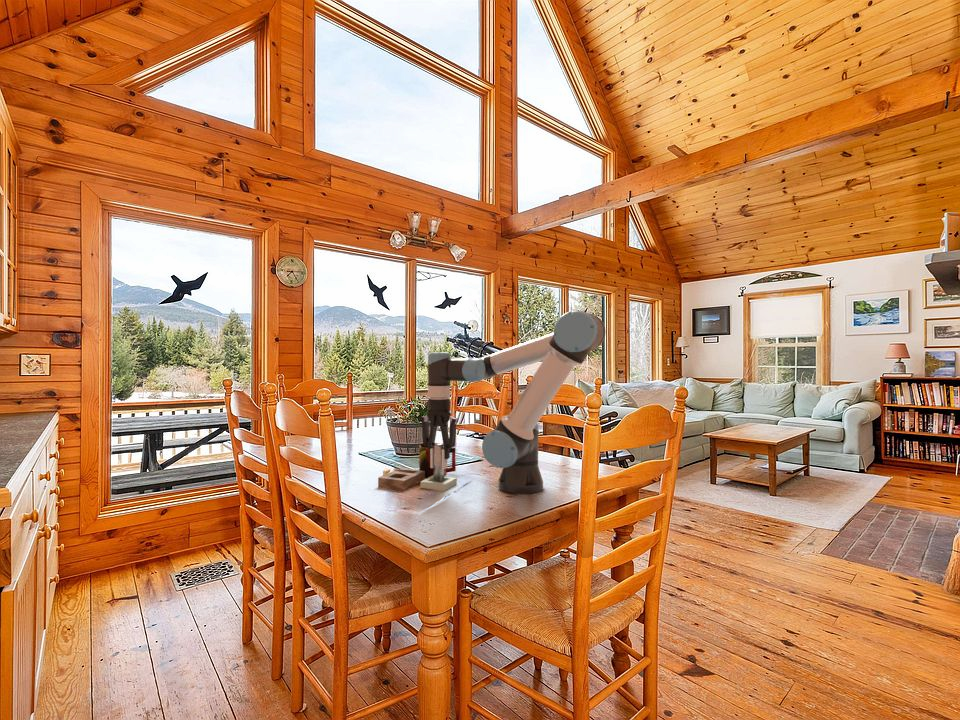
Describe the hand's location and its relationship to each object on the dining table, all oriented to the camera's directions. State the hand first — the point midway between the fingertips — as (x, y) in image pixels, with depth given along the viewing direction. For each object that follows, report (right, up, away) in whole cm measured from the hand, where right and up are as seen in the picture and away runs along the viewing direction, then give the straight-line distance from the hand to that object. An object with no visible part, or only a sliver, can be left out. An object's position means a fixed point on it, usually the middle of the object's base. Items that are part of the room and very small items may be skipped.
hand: (438, 467), depth 163 cm
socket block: (-13, -7, +3) cm, 15 cm away
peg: (0, -5, 0) cm, 5 cm away
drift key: (-15, -7, +9) cm, 19 cm away
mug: (-2, -7, +16) cm, 17 cm away
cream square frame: (0, -7, 0) cm, 7 cm away
